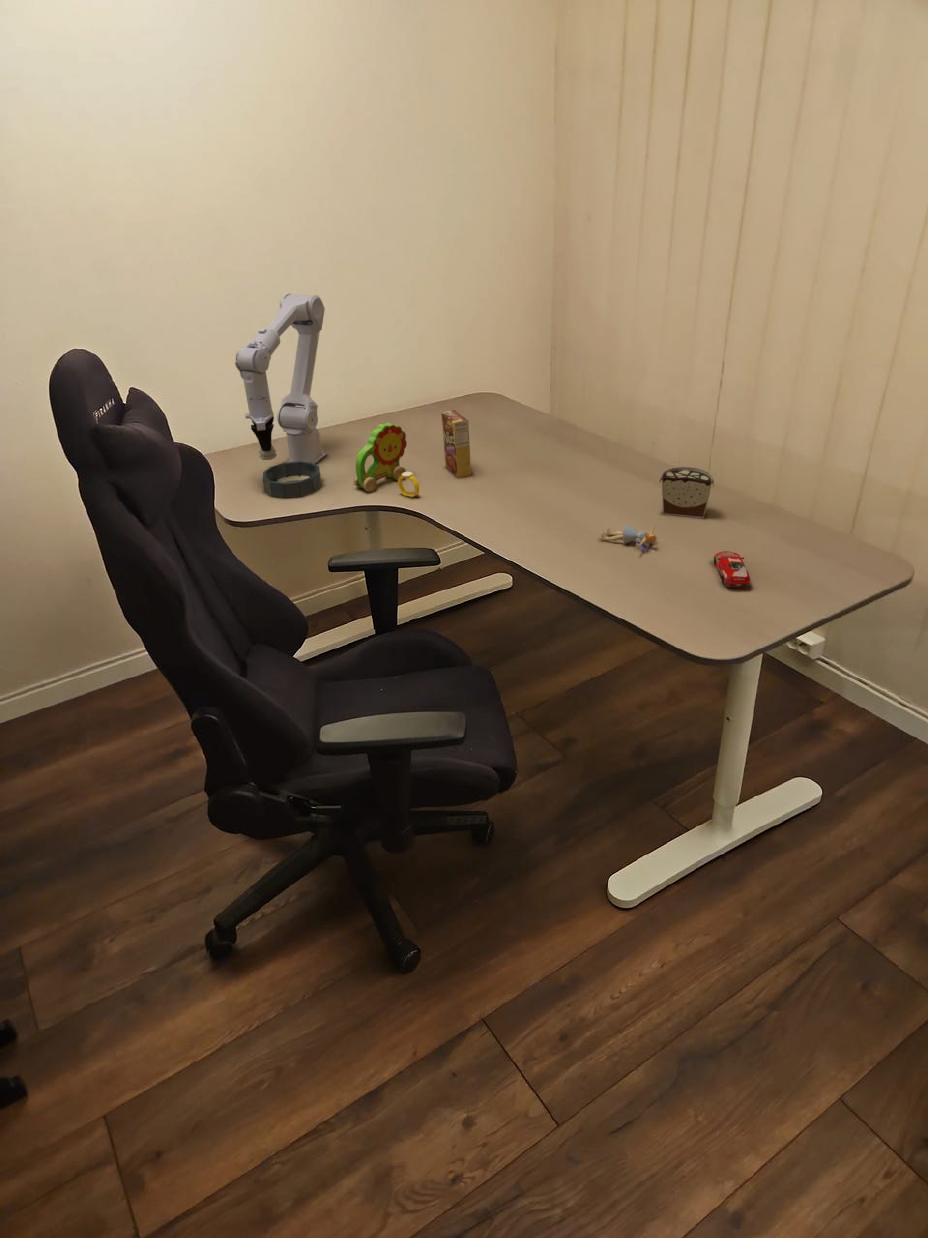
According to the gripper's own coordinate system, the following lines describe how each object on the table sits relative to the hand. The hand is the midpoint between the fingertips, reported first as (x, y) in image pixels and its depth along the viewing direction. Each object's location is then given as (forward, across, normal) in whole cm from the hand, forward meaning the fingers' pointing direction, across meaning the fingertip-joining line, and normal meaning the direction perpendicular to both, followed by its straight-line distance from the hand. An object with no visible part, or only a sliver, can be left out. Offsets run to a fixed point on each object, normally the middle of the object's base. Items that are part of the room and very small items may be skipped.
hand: (266, 447), depth 229 cm
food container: (+10, +44, +97) cm, 107 cm away
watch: (+10, +18, +34) cm, 40 cm away
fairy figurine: (+10, +56, +79) cm, 98 cm away
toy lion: (+10, +8, +29) cm, 32 cm away
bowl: (+10, +4, +5) cm, 12 cm away
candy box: (+10, +6, +49) cm, 50 cm away
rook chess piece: (+3, 0, 0) cm, 3 cm away
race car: (+10, +75, +95) cm, 121 cm away
